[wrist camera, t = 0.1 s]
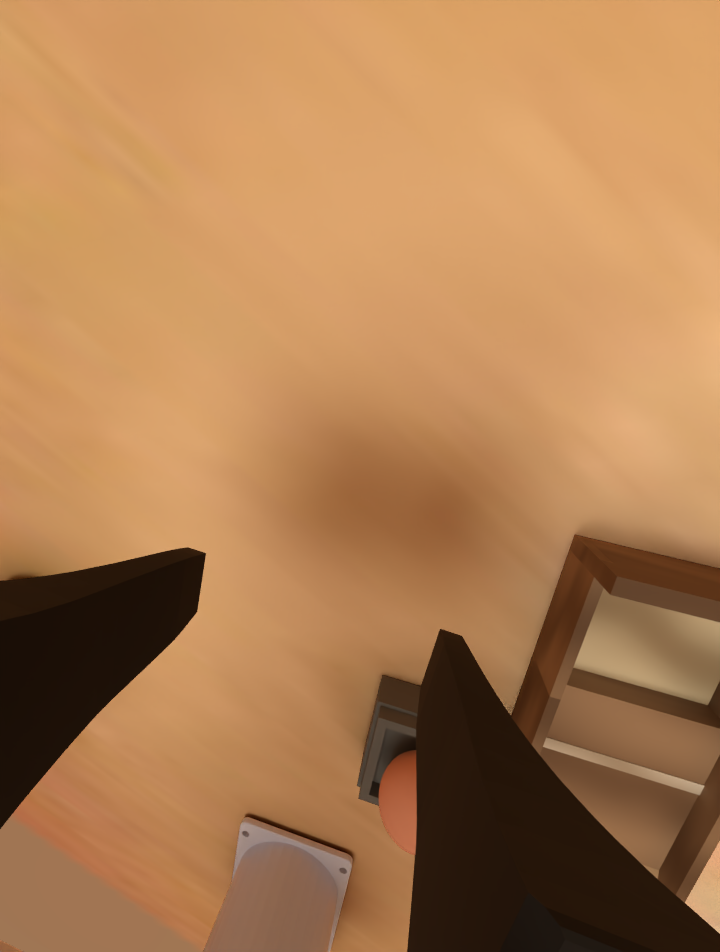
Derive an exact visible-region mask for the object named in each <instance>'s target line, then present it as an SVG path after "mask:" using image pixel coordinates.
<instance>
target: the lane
mask: <svg viewBox="0 0 720 952" xmlns="http://www.w3.org/2000/svg"><path fill="white" fill-rule="evenodd" d="M511 717H512V719H513V720H514V721H515V723H516V724H517V726H518V727H519V729H520V730H521V731H522V733H523V734H524V735H525V737H526V738H527V739H528V741H529V742H530V743H531V745H532V746H533V747H534V748H535V750H536V751H537V752H538V753H539V755H540V756H541V757H542V758H543V760H544V761H545V762H546V763H547V765H548V766H549V767H550V768H551V769H552V771H553V772H554V773H555V774H556V775H557V776H558V778H559V779H560V780H561V781H562V782H563V783H564V785H565V786H566V787H567V788H568V789H569V790H570V791H571V792H572V793H573V794H574V796H575V797H576V798H577V799H578V800H579V801H580V802H581V803H582V804H583V805H584V806H585V808H586V809H587V810H588V811H589V812H590V813H591V814H592V815H593V816H594V817H595V818H596V819H597V820H598V821H599V822H600V823H601V824H602V825H603V826H604V828H605V829H606V830H607V831H608V832H609V833H610V834H611V835H612V836H613V837H614V838H615V839H616V840H617V841H618V842H619V843H620V844H621V845H623V846H624V847H625V848H626V849H627V850H628V851H629V852H630V853H631V854H632V855H633V856H634V857H635V858H636V859H637V860H638V861H639V862H640V863H641V864H642V865H643V866H644V867H645V868H646V869H647V870H648V871H649V872H650V873H652V874H653V875H654V876H655V877H656V878H657V879H658V880H659V881H660V882H661V883H663V884H664V885H665V886H666V887H667V888H668V889H669V890H670V891H672V892H673V893H674V894H675V895H676V896H677V897H678V898H680V899H681V900H682V901H683V902H684V903H685V901H686V899H687V897H688V896H689V894H690V892H691V890H692V889H693V887H694V885H695V883H696V881H697V880H698V878H699V876H700V874H701V873H702V871H703V869H704V867H705V865H706V864H707V862H708V860H709V858H710V857H711V855H712V853H713V851H714V850H715V848H716V846H717V844H718V842H719V841H720V569H718V568H714V567H710V566H706V565H701V564H697V563H693V562H689V561H684V560H680V559H676V558H672V557H667V556H663V555H659V554H654V553H650V552H646V551H642V550H637V549H633V548H629V547H625V546H620V545H616V544H612V543H608V542H603V541H599V540H595V539H591V538H586V537H582V536H578V535H575V536H574V539H573V542H572V545H571V548H570V550H569V553H568V556H567V559H566V562H565V565H564V568H563V570H562V573H561V576H560V579H559V582H558V585H557V588H556V590H555V593H554V596H553V599H552V602H551V605H550V608H549V610H548V613H547V616H546V619H545V622H544V625H543V628H542V630H541V633H540V636H539V639H538V642H537V645H536V648H535V650H534V653H533V656H532V659H531V662H530V665H529V668H528V670H527V673H526V676H525V679H524V682H523V685H522V688H521V690H520V693H519V696H518V699H517V702H516V705H515V708H514V710H513V713H512V716H511Z"/></svg>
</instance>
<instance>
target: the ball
mask: <svg viewBox="0 0 720 952" xmlns="http://www.w3.org/2000/svg"><path fill="white" fill-rule="evenodd" d="M379 808H380V814H381V817H382V821H383V824H384V826H385V828H386V830H387V832H388V834H389V835H390V837H391V838H392V839H393V841H394V842H395V843H396V844H397V845H398V846H399V847H400V848H402V849H403V850H405V851H406V852H408V853H410V854H413V855H415V851H416V828H417V792H416V750H411V751H407V752H404V753H402V754H400V755H398V756H397V757H396V758H394V759H393V760H392V761H391V763H390V764H389V765H388V766H387V768H386V770H385V772H384V774H383V776H382V779H381V783H380V788H379Z"/></svg>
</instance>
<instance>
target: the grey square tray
mask: <svg viewBox="0 0 720 952" xmlns="http://www.w3.org/2000/svg"><path fill="white" fill-rule="evenodd" d="M420 688H421V687H420V686H417V685H414V684H410V683H407V682H404V681H401V680H397V679H394V678H391V677H387V676H384V675H382V679H381V683H380V687H379V691H378V695H377V699H376V703H375V708H374V712H373V716H372V720H371V724H370V728H369V732H368V736H367V741H366V745H365V749H364V753H363V758H362V763H361V768H360V773H359V778H358V784H357V786H359V787H361V788H360V793H359V798H358V799H361V800H364V801H367V802H370V803H372V804H375V805H378V806H379V788H380V783H381V779H382V776H383V774H384V772H385V770H386V768H387V766H388V765H389V764H390V763H391V761H392V760H393V759H394V758H396V757H397V756H398V755H400V754H402V753H404V752H407V751H411V750H416V722H417V712H418V703H419V694H420Z"/></svg>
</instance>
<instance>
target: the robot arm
mask: <svg viewBox="0 0 720 952" xmlns="http://www.w3.org/2000/svg"><path fill="white" fill-rule="evenodd" d="M205 556H206V553H203V552H200V551H197V550H194V549H191V548H180V549H175V550H170V551H165V552H161V553H156V554H152V555H148V556H144V557H139V558H135V559H131V560H126V561H122V562H118V563H113V564H108V565H103V566H99V567H94V568H89V569H84V570H79V571H74V572H68V573H62V574H56V575H49V576H42V577H34V578H27V579H18V580H7V581H0V829H1V827H2V826H3V825H4V823H5V822H6V821H7V820H8V818H9V817H10V816H11V815H12V814H13V812H14V811H15V810H16V809H17V807H18V806H19V805H20V804H21V802H22V801H23V800H24V799H25V797H26V796H27V795H28V794H29V793H30V791H31V790H32V789H33V788H34V787H35V785H36V784H37V783H38V782H39V781H40V780H41V778H42V777H43V776H44V775H45V774H46V772H47V771H48V770H49V769H50V768H51V766H52V765H53V764H54V763H55V762H56V761H57V759H58V758H59V757H60V756H61V755H62V753H63V752H64V751H65V750H66V749H67V748H68V747H69V745H70V744H71V743H72V742H73V741H74V740H75V739H76V738H77V736H78V735H79V734H80V733H81V732H82V731H83V730H84V729H85V727H86V726H87V725H88V724H89V723H90V722H91V721H92V719H93V718H94V717H95V716H96V715H97V714H98V713H99V712H100V711H101V710H102V709H103V708H104V707H105V706H106V705H107V704H108V703H109V702H110V701H111V700H112V699H113V698H114V697H115V696H116V695H117V694H118V693H119V692H120V691H121V690H122V689H124V688H125V687H126V686H127V685H128V684H129V683H130V682H131V681H132V680H133V679H134V678H135V677H136V676H137V675H138V674H139V673H140V672H141V671H142V670H144V669H145V668H146V667H147V666H148V665H149V664H150V663H151V662H152V661H153V660H154V659H155V658H156V657H157V656H158V655H159V654H160V653H161V652H162V651H163V650H164V649H165V648H166V647H167V646H169V645H170V644H171V643H172V642H173V641H174V640H175V638H176V637H177V636H178V635H179V634H180V632H181V631H182V630H183V629H184V628H185V626H186V625H187V624H188V623H189V621H190V620H191V619H192V618H193V616H194V615H195V614H196V612H197V609H198V602H199V595H200V589H201V582H202V576H203V569H204V562H205ZM416 792H417V828H416V851H415V864H414V878H413V891H412V903H411V915H410V926H409V938H408V950H407V952H720V934H719V933H718V932H717V931H716V930H715V929H714V928H712V927H711V926H710V925H709V924H708V923H707V922H706V921H705V920H703V919H702V918H701V917H700V916H699V915H698V914H697V913H695V912H694V911H693V910H692V909H691V908H690V907H689V906H687V905H686V904H685V903H684V902H683V901H682V900H681V899H680V898H678V897H677V896H676V895H675V894H674V893H673V892H672V891H670V890H669V889H668V888H667V887H666V886H665V885H664V884H663V883H661V882H660V881H659V880H658V879H657V878H656V877H655V876H654V875H653V874H652V873H650V872H649V871H648V870H647V869H646V868H645V867H644V866H643V865H642V864H641V863H640V862H639V861H638V860H637V859H636V858H635V857H634V856H633V855H632V854H631V853H630V852H629V851H628V850H627V849H626V848H625V847H624V846H623V845H621V844H620V843H619V842H618V841H617V840H616V839H615V838H614V837H613V836H612V835H611V834H610V833H609V832H608V831H607V830H606V829H605V828H604V826H603V825H602V824H601V823H600V822H599V821H598V820H597V819H596V818H595V817H594V816H593V815H592V814H591V813H590V812H589V811H588V810H587V809H586V808H585V806H584V805H583V804H582V803H581V802H580V801H579V800H578V799H577V798H576V797H575V796H574V794H573V793H572V792H571V791H570V790H569V789H568V788H567V787H566V786H565V785H564V783H563V782H562V781H561V780H560V779H559V778H558V776H557V775H556V774H555V773H554V772H553V771H552V769H551V768H550V767H549V766H548V765H547V763H546V762H545V761H544V760H543V758H542V757H541V756H540V755H539V753H538V752H537V751H536V750H535V748H534V747H533V746H532V745H531V743H530V742H529V741H528V739H527V738H526V737H525V735H524V734H523V733H522V731H521V730H520V729H519V727H518V726H517V724H516V723H515V721H514V720H513V719H512V717H511V716H510V714H509V713H508V711H507V710H506V708H505V707H504V705H503V704H502V702H501V701H500V699H499V698H498V696H497V695H496V693H495V692H494V690H493V688H492V687H491V685H490V684H489V682H488V680H487V679H486V677H485V675H484V674H483V672H482V670H481V668H480V667H479V665H478V663H477V662H476V660H475V658H474V656H473V655H472V653H471V651H470V649H469V647H468V646H467V644H466V642H465V640H464V639H463V637H462V636H460V635H457V634H454V633H451V632H448V631H445V630H442V629H440V631H439V634H438V637H437V640H436V643H435V646H434V649H433V652H432V655H431V658H430V661H429V664H428V667H427V670H426V673H425V676H424V679H423V682H422V685H421V688H420V694H419V703H418V712H417V722H416ZM352 864H353V859H352V857H351V856H350V855H349V854H347V853H344V852H341V851H339V850H336V849H333V848H331V847H328V846H325V845H323V844H320V843H317V842H314V841H312V840H309V839H306V838H304V837H301V836H298V835H296V834H293V833H290V832H287V831H285V830H282V829H279V828H277V827H274V826H271V825H269V824H266V823H263V822H260V821H258V820H255V819H252V818H249V817H245V818H244V819H243V820H242V822H241V825H240V830H239V837H238V843H237V850H236V856H235V863H234V869H233V876H232V882H231V885H230V887H229V889H228V892H227V894H226V897H225V899H224V902H223V904H222V906H221V909H220V911H219V914H218V916H217V919H216V921H215V923H214V926H213V928H212V931H211V933H210V936H209V938H208V940H207V943H206V945H205V948H204V950H203V952H330V951H331V947H332V943H333V939H334V935H335V931H336V927H337V923H338V920H339V916H340V912H341V908H342V904H343V900H344V896H345V892H346V888H347V884H348V881H349V877H350V873H351V869H352ZM0 952H23V951H21V950H19V949H17V948H15V947H13V946H11V945H9V944H7V943H5V942H3V941H1V940H0Z"/></svg>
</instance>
